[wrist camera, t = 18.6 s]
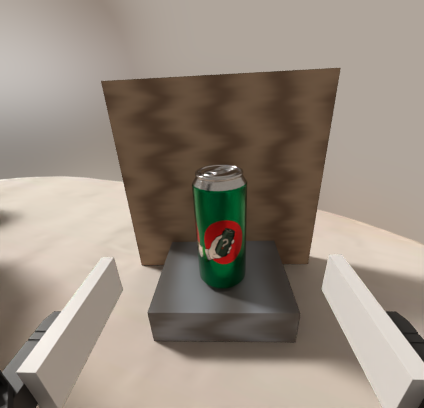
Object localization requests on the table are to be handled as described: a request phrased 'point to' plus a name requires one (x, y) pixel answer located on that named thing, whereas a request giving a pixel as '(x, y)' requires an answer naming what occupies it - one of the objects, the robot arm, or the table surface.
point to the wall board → (256, 190)
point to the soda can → (220, 224)
